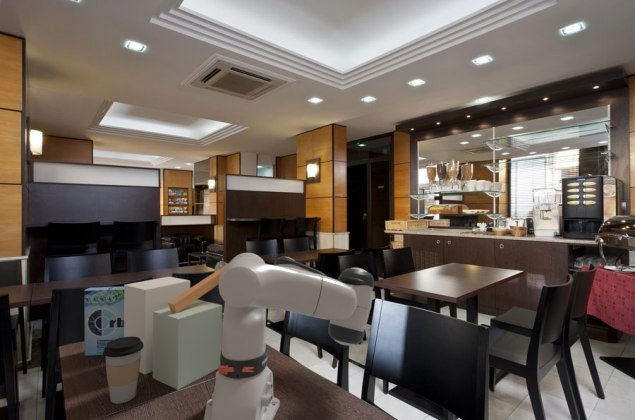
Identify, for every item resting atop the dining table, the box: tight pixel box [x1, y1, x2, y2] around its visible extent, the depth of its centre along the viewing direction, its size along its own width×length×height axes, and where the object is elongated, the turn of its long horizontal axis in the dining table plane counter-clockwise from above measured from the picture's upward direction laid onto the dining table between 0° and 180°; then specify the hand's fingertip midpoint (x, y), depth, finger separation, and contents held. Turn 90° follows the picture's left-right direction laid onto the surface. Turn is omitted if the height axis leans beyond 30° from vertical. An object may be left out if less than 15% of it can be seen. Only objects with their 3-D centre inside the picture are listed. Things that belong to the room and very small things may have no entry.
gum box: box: [83, 286, 124, 356], centre depth 117 cm, size 20×5×23 cm, turn 98°
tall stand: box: [124, 276, 191, 375], centre depth 111 cm, size 16×12×26 cm
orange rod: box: [168, 262, 229, 313], centre depth 109 cm, size 26×3×3 cm, turn 148°
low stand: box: [152, 299, 223, 391], centre depth 103 cm, size 16×12×20 cm
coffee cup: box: [102, 337, 144, 405], centre depth 89 cm, size 9×9×15 cm
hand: (225, 263), depth 116 cm, fingers closed on orange rod, 3 cm apart
